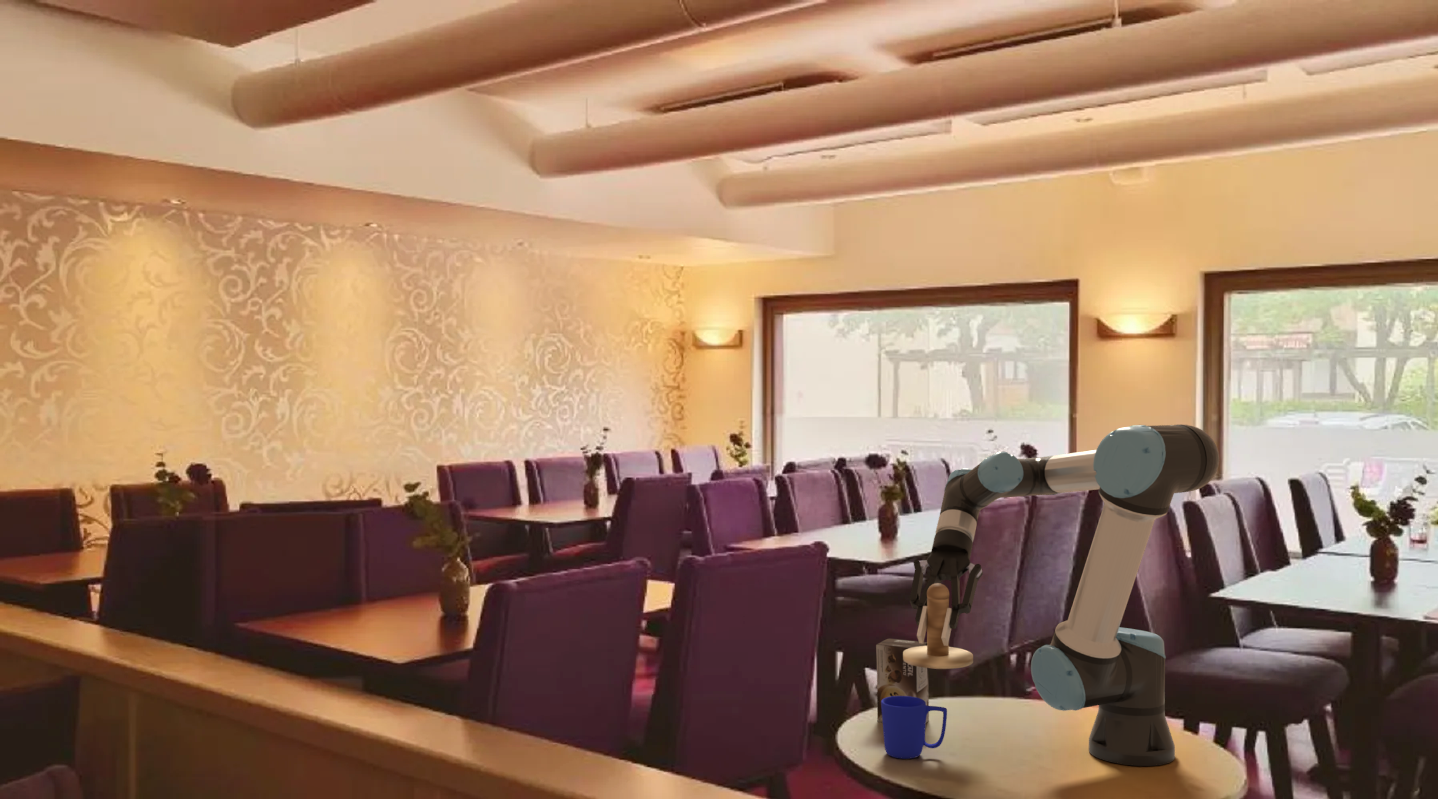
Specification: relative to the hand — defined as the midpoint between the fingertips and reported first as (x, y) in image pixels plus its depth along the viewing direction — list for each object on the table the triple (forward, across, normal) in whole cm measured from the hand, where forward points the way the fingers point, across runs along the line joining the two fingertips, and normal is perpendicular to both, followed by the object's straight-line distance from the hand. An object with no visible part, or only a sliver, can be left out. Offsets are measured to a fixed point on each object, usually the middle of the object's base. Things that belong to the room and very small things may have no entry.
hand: (932, 640), depth 228 cm
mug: (+17, +3, -13) cm, 22 cm away
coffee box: (+3, +11, -29) cm, 31 cm away
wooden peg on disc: (+1, 0, -6) cm, 6 cm away
